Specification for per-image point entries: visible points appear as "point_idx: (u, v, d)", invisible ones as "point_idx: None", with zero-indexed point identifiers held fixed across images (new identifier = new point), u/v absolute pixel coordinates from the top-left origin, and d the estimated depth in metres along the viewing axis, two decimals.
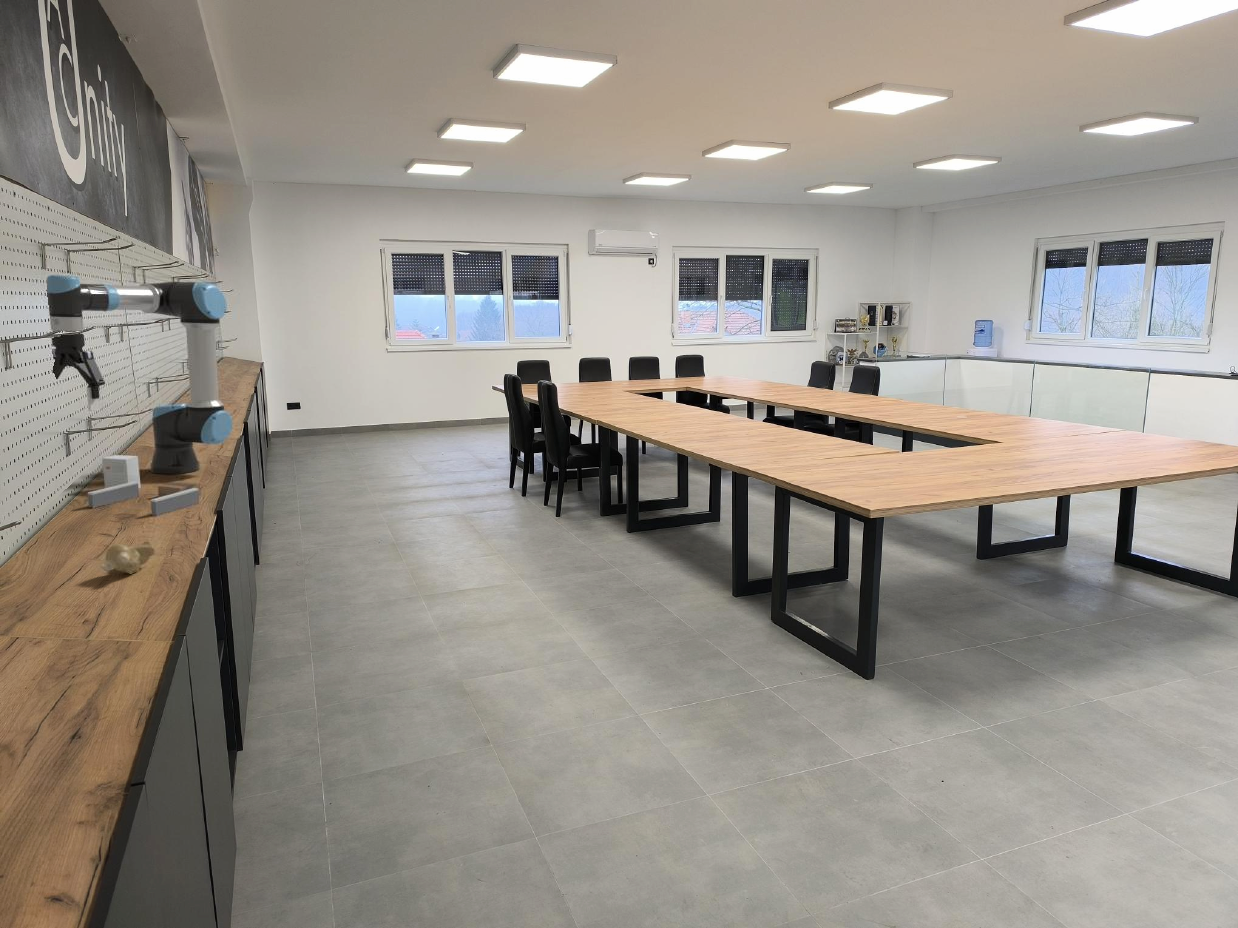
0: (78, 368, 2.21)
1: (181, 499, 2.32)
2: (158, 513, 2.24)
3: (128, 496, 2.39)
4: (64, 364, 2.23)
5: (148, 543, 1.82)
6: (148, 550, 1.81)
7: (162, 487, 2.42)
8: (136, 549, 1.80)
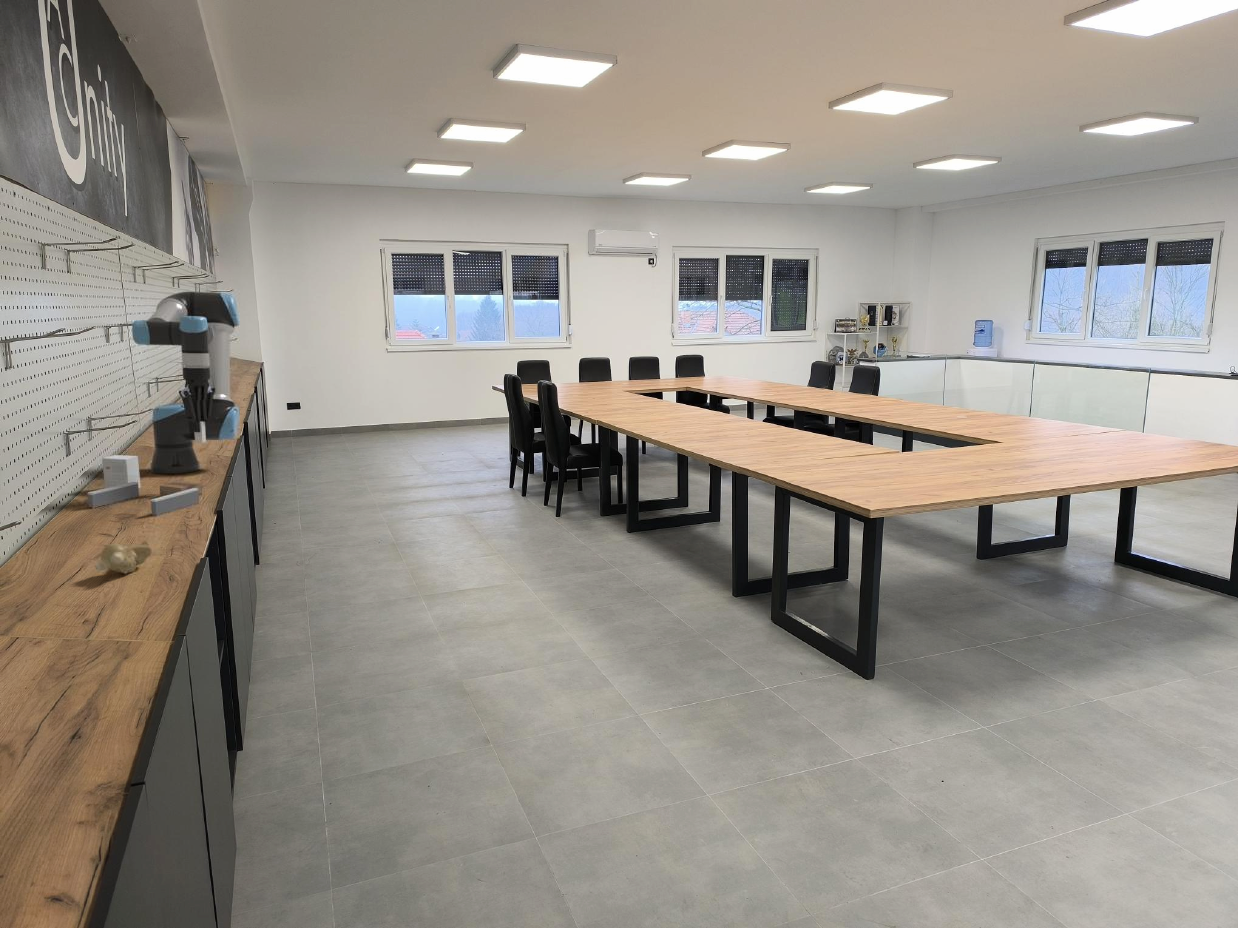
0: None
1: (181, 499, 2.32)
2: (158, 513, 2.24)
3: (128, 496, 2.39)
4: None
5: (146, 543, 1.82)
6: (145, 550, 1.81)
7: (164, 487, 2.42)
8: (133, 549, 1.80)
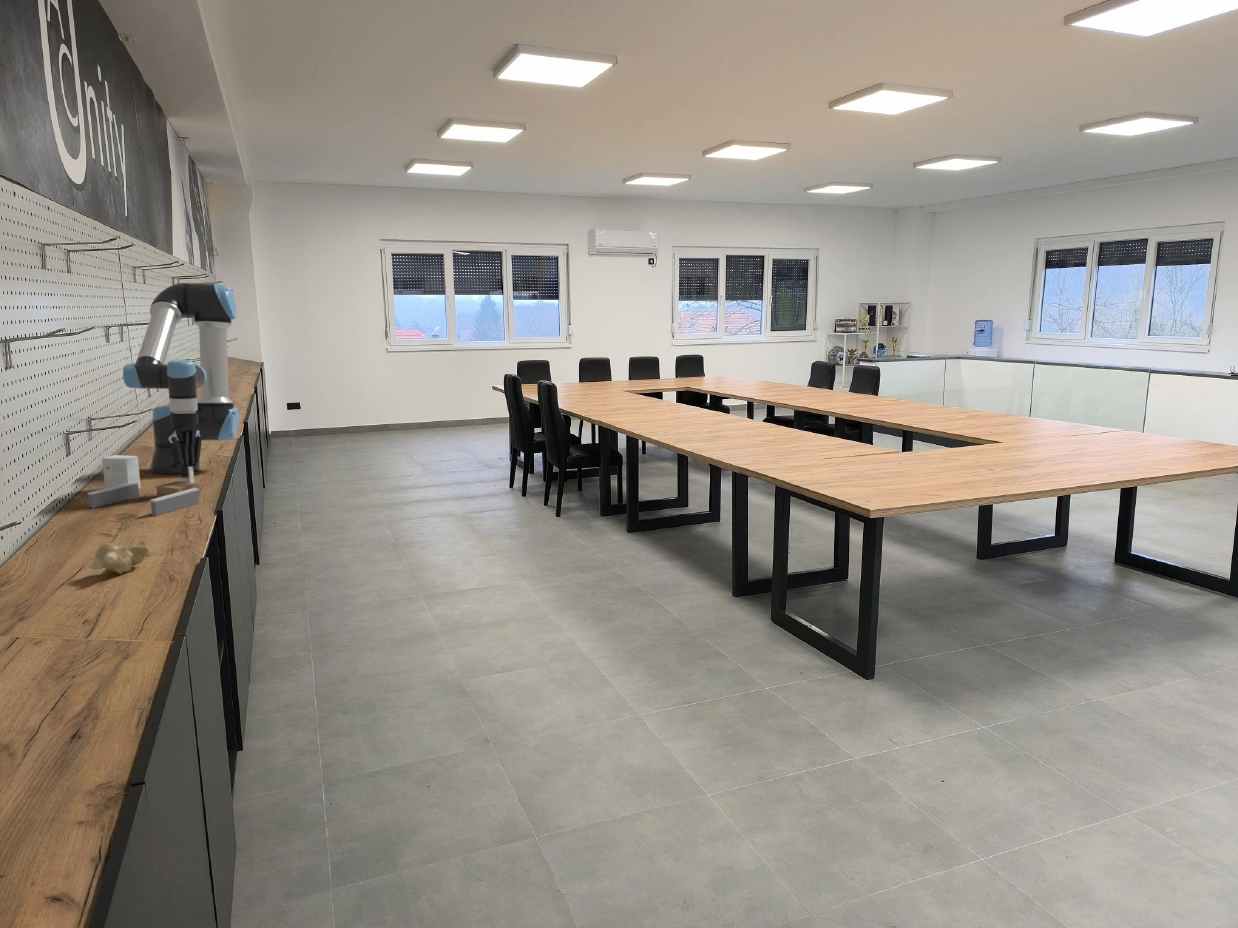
0: None
1: (181, 499, 2.32)
2: (158, 513, 2.24)
3: (128, 496, 2.39)
4: None
5: (143, 543, 1.82)
6: (142, 550, 1.80)
7: (160, 487, 2.41)
8: (130, 549, 1.80)
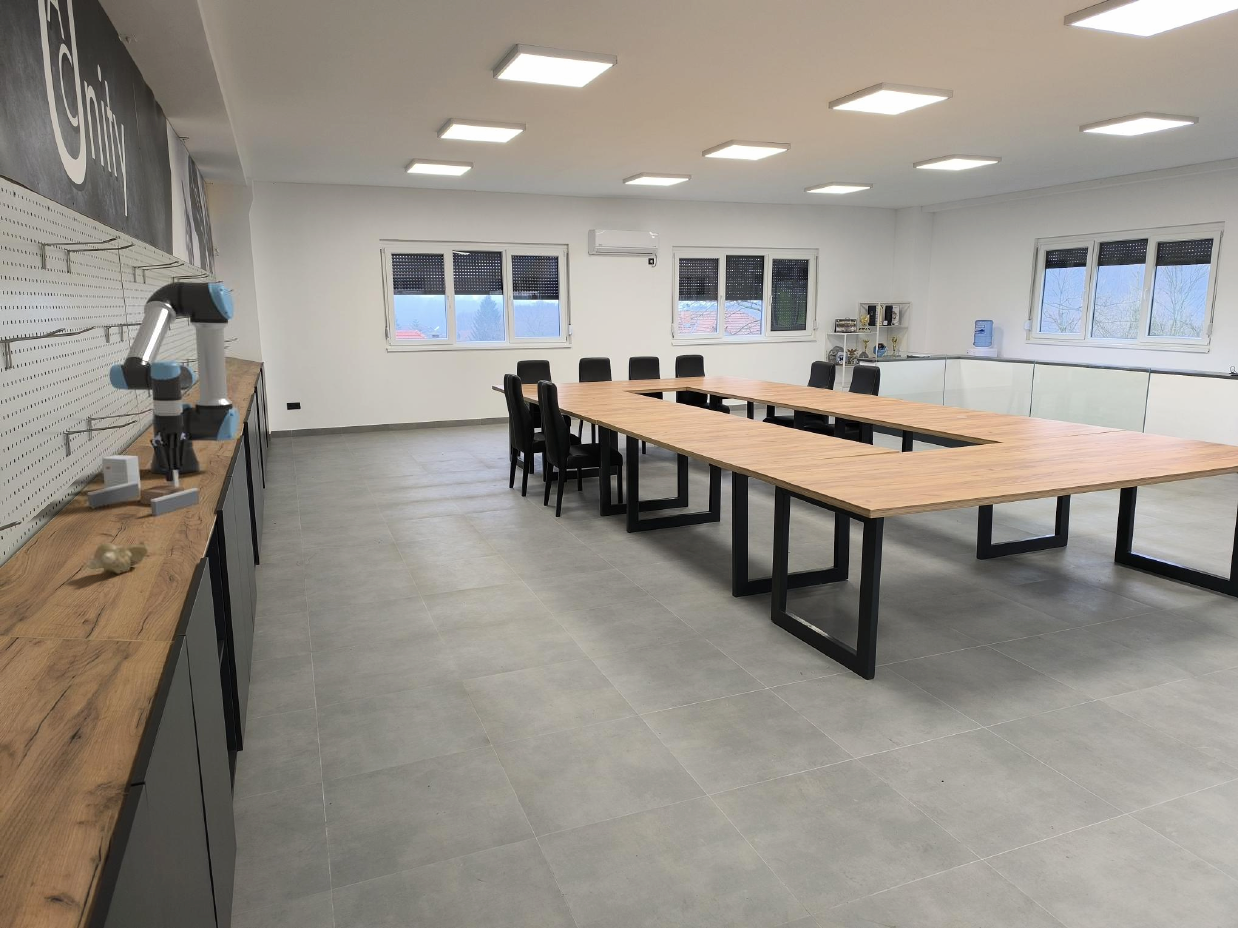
0: None
1: (181, 499, 2.32)
2: (158, 513, 2.24)
3: (128, 496, 2.39)
4: None
5: (143, 543, 1.82)
6: (141, 550, 1.80)
7: (145, 492, 2.35)
8: (129, 549, 1.80)
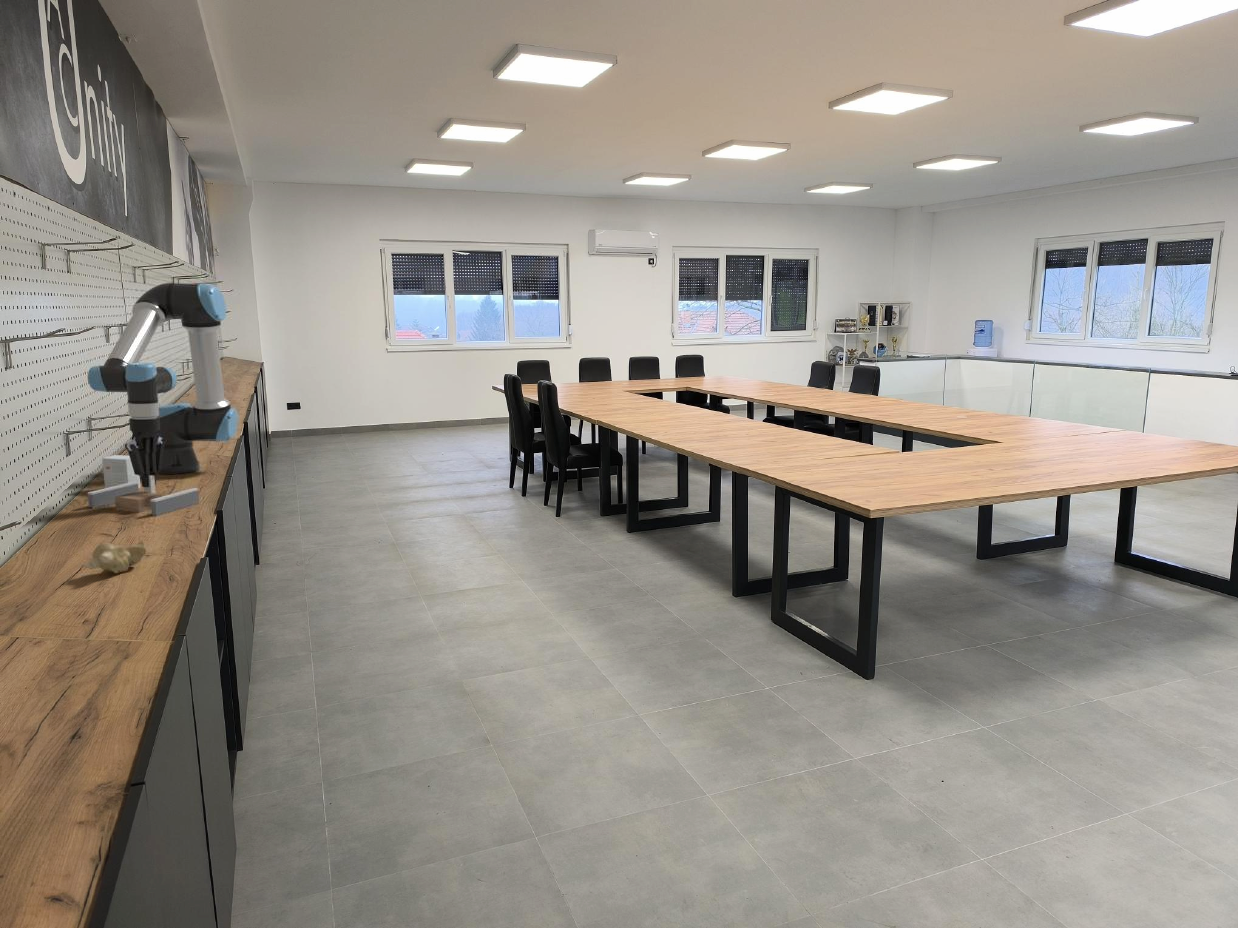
0: None
1: (181, 499, 2.32)
2: (158, 513, 2.24)
3: None
4: None
5: (142, 543, 1.81)
6: (140, 550, 1.80)
7: (119, 498, 2.26)
8: (128, 548, 1.80)
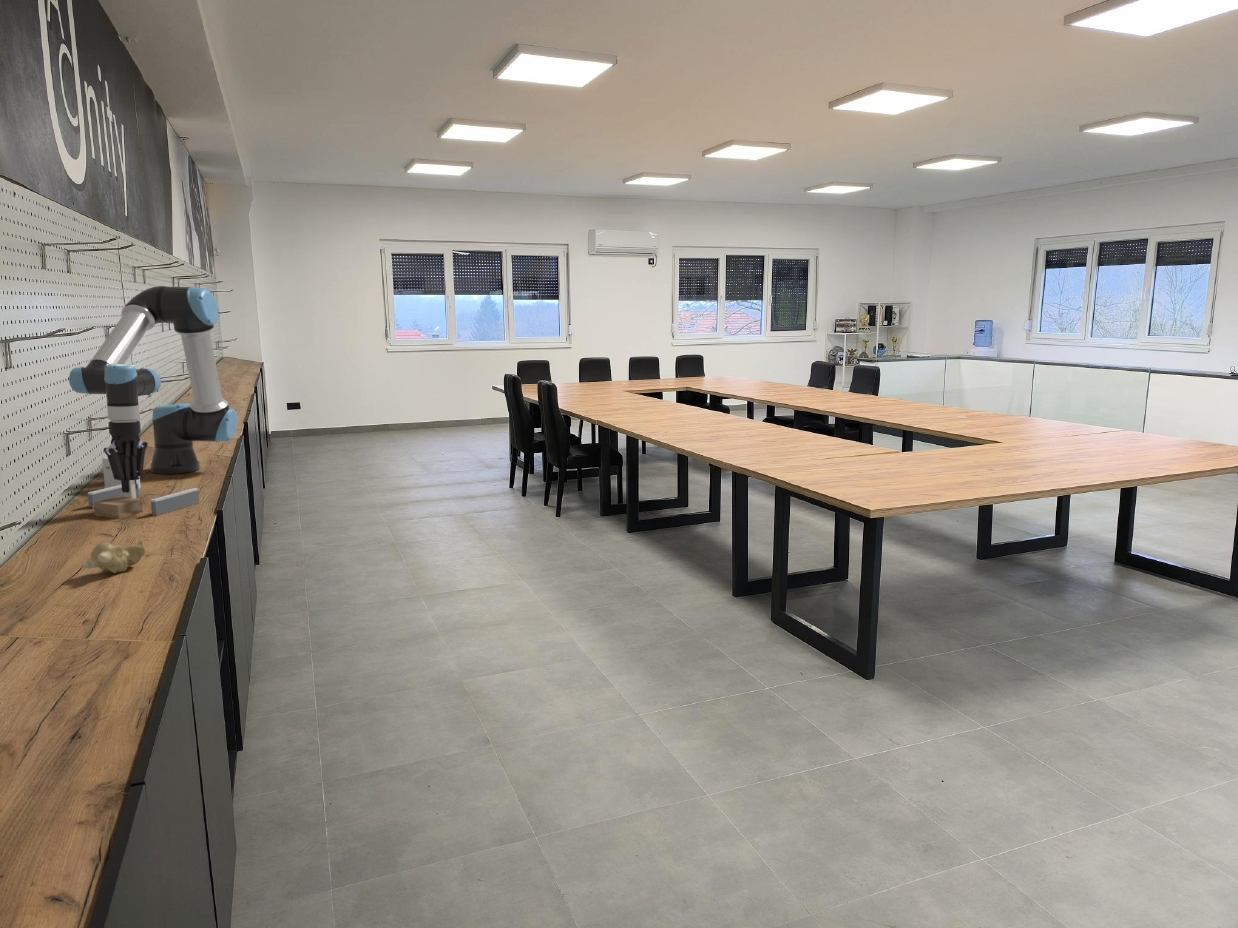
0: None
1: (181, 499, 2.32)
2: (158, 513, 2.24)
3: None
4: None
5: (141, 543, 1.81)
6: (139, 550, 1.80)
7: (98, 504, 2.20)
8: (127, 548, 1.80)
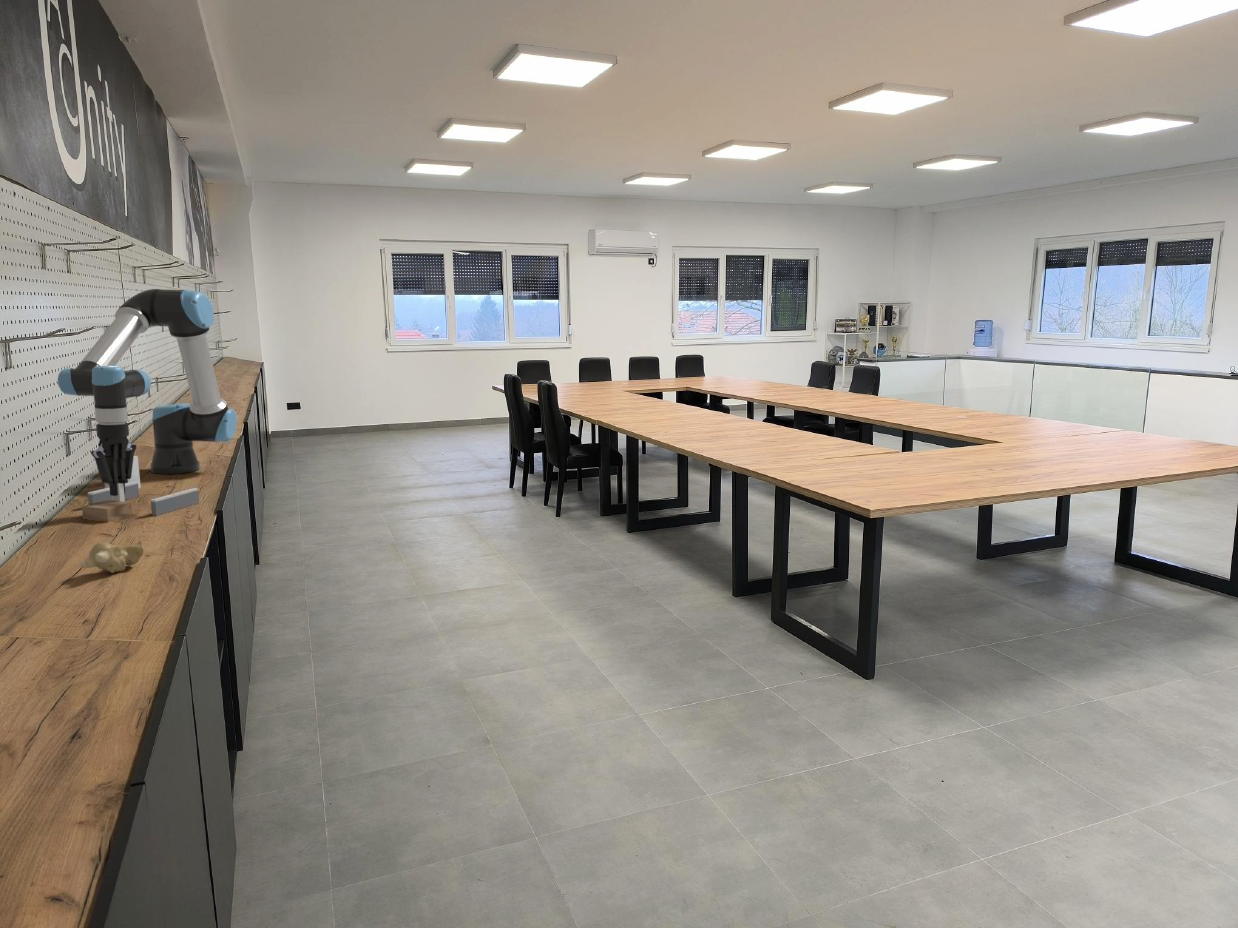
0: None
1: (181, 499, 2.32)
2: (158, 513, 2.24)
3: (128, 496, 2.39)
4: None
5: (140, 543, 1.81)
6: (137, 550, 1.80)
7: (87, 508, 2.16)
8: (126, 548, 1.80)
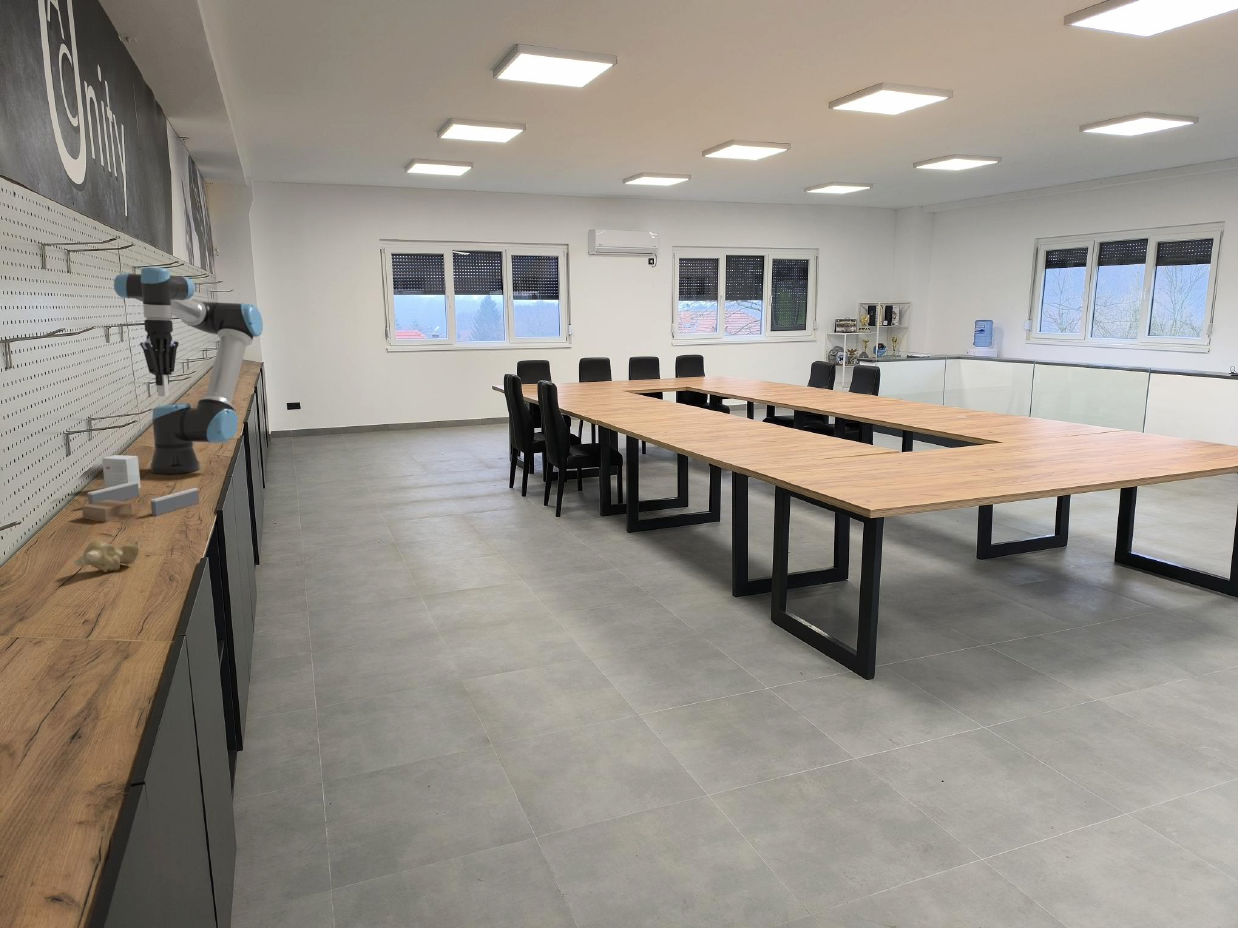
0: None
1: (181, 499, 2.32)
2: (158, 513, 2.24)
3: (128, 496, 2.39)
4: None
5: (136, 543, 1.81)
6: (133, 550, 1.80)
7: (86, 507, 2.16)
8: (123, 547, 1.80)
